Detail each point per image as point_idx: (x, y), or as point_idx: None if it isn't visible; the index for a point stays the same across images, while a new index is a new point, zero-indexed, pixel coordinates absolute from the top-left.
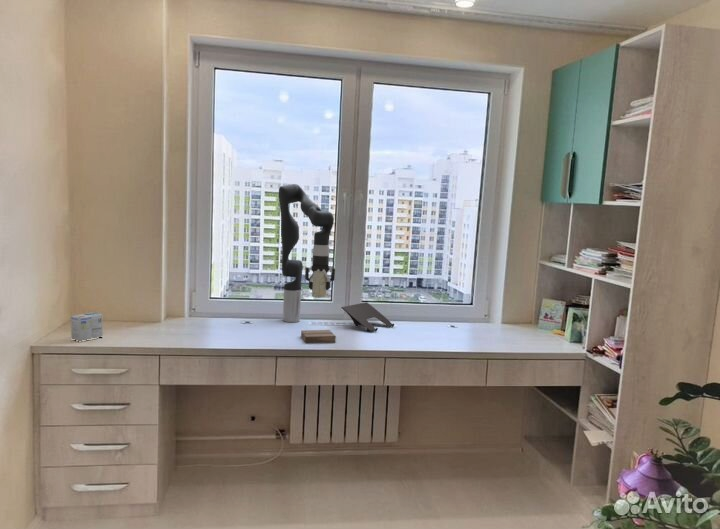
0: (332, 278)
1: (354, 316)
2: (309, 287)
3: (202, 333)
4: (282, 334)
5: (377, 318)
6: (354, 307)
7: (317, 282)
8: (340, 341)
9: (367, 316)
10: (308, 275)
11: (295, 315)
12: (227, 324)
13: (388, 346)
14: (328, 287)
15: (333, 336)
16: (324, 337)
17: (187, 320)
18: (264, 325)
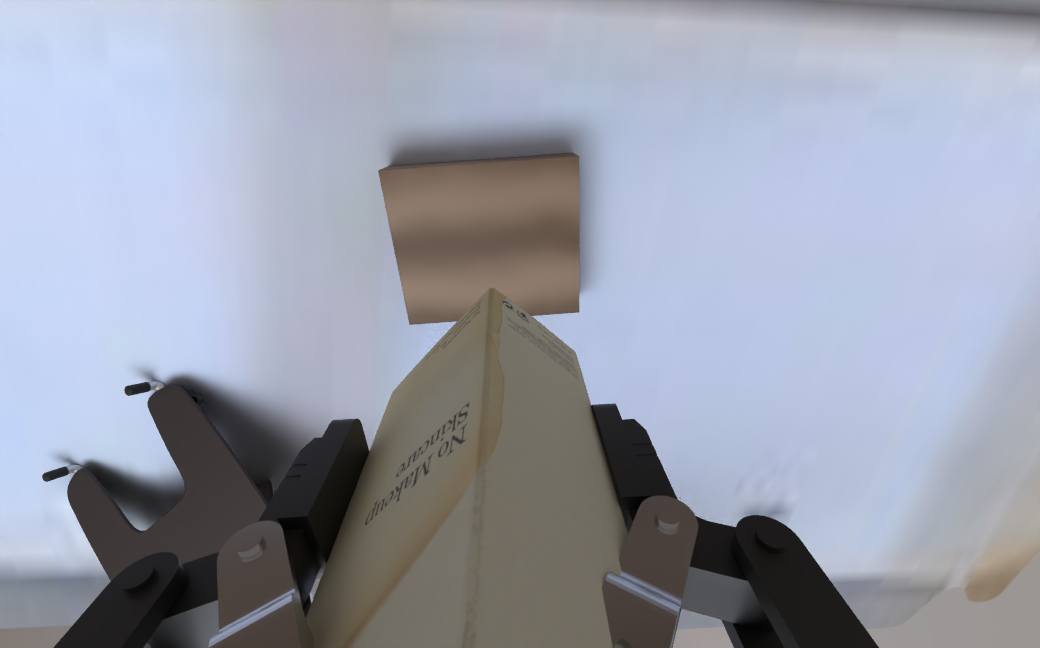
0: (140, 607)
1: (245, 495)
2: (641, 430)
3: (1024, 357)
4: (659, 341)
5: (131, 525)
6: None
7: (532, 448)
8: (356, 191)
9: (177, 522)
10: (799, 640)
11: None
12: (851, 495)
13: (13, 43)
14: (323, 440)
15: (393, 169)
16: (455, 164)
17: (978, 541)
18: (701, 486)
